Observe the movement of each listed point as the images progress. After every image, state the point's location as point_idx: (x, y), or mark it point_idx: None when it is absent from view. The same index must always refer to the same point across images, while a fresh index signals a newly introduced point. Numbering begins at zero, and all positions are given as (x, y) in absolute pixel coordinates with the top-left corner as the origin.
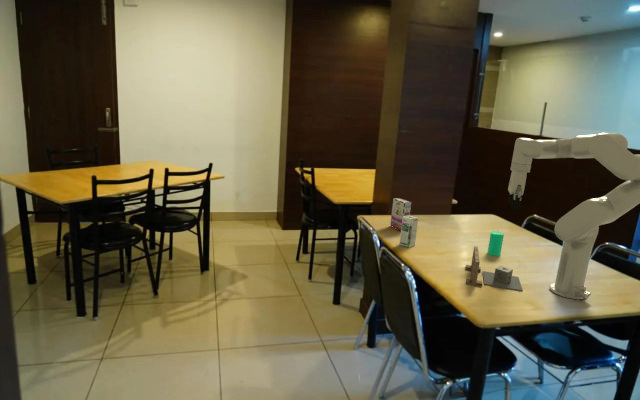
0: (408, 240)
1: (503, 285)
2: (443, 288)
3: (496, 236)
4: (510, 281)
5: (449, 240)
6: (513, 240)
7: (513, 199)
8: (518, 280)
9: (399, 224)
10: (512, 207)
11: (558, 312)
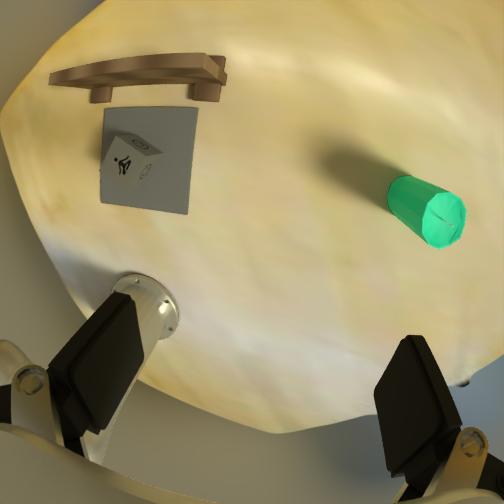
0: None
1: None
2: (72, 30)
3: (420, 208)
4: None
5: (484, 83)
6: (500, 296)
7: (397, 416)
8: (158, 207)
9: None
10: (109, 306)
11: (52, 247)
